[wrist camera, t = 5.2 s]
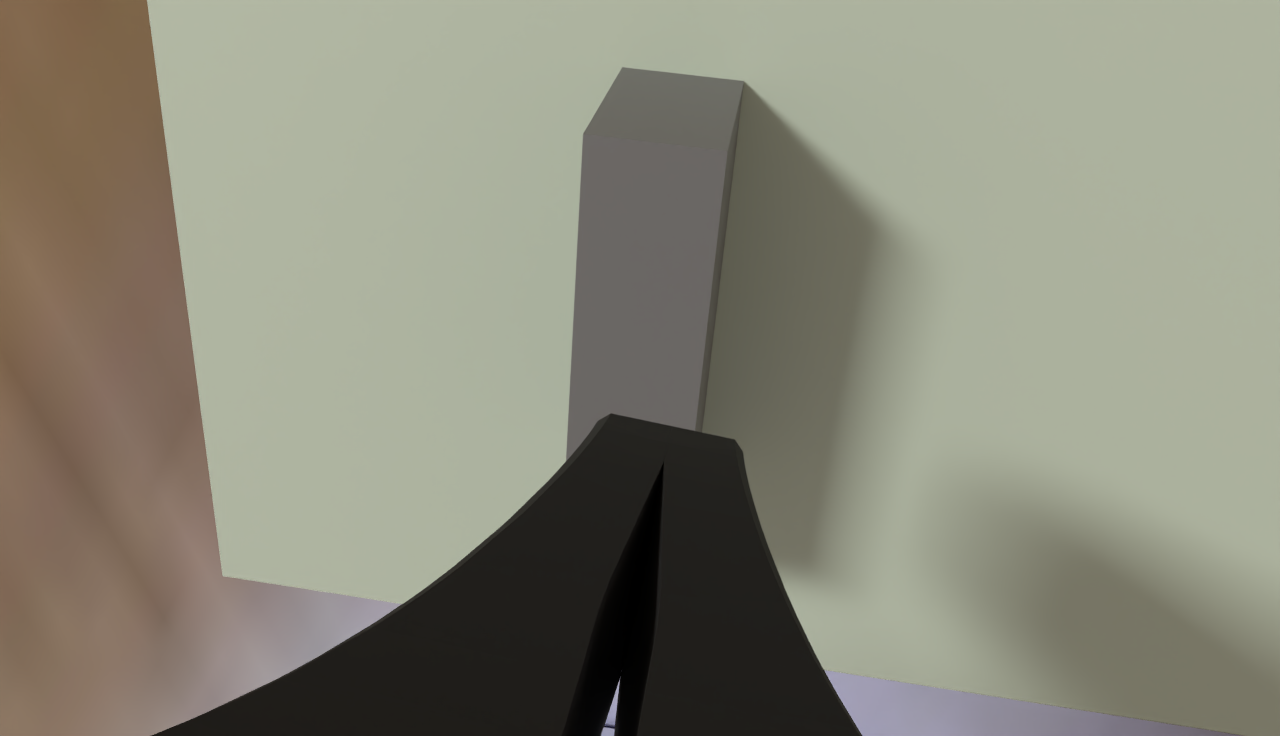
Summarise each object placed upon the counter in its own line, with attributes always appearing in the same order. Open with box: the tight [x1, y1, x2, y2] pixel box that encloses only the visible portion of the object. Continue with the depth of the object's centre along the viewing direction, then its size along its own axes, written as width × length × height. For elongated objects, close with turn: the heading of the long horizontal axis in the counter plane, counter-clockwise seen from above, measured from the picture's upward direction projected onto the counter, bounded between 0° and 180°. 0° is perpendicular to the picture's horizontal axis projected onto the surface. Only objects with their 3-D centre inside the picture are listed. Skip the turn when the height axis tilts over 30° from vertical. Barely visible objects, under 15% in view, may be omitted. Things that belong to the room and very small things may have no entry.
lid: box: [147, 0, 1280, 736], centre depth 16 cm, size 14×19×4 cm
